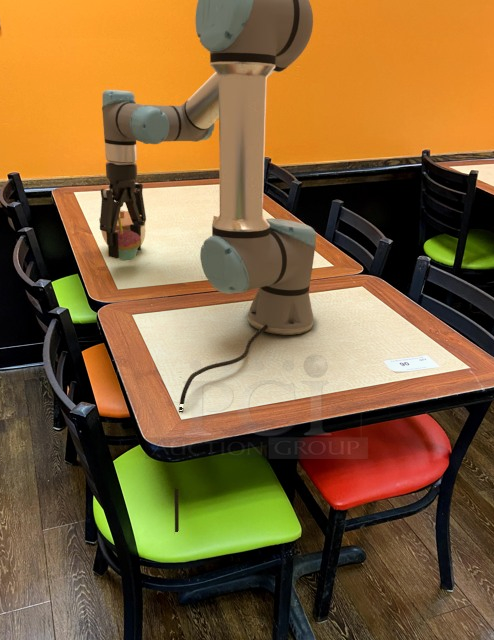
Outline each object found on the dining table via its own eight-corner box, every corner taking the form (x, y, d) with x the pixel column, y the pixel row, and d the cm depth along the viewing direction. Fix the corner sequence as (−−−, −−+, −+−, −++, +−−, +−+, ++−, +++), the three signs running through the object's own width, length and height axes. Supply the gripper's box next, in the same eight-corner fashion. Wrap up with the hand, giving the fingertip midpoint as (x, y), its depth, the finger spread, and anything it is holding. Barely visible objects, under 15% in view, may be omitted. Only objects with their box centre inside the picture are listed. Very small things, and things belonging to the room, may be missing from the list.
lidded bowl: (152, 243, 168) (149, 205, 162) (140, 259, 158) (137, 220, 152) (110, 240, 169) (106, 202, 162) (96, 255, 159) (91, 216, 152)
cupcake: (135, 265, 148) (131, 219, 141) (104, 261, 149) (98, 215, 142) (146, 253, 155) (143, 208, 147) (117, 249, 156) (112, 205, 149)
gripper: (135, 156, 149) (138, 242, 161) (79, 164, 132) (86, 259, 144) (159, 160, 146) (160, 247, 158) (104, 169, 130) (110, 265, 141)
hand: (125, 253), depth 151 cm, fingers closed on cupcake, 9 cm apart
